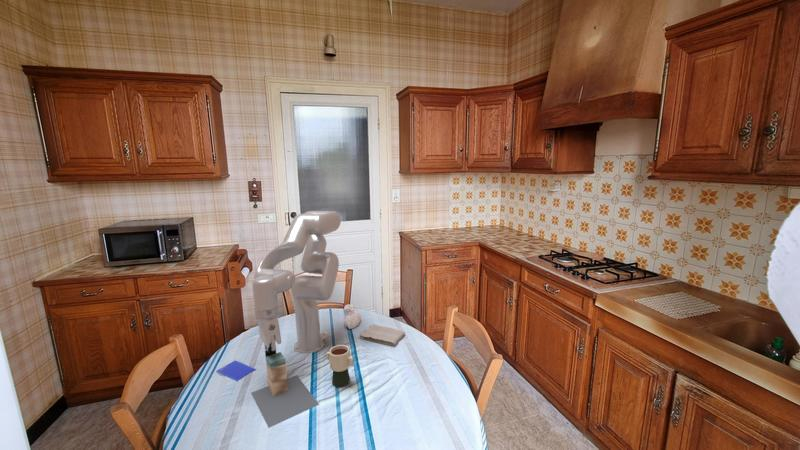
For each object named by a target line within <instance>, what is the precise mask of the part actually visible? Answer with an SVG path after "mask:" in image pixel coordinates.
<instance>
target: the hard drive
mask: <svg viewBox="0 0 800 450" xmlns="http://www.w3.org/2000/svg"><path fill="white" fill-rule="evenodd" d="M255 371H257V369H256V368H254V367H252V366H250V365H247V364H245V363H242V362H240V361H238V360H236V359H235V360H233V361H231V362H229V363H228V364H226V365H224V366H223V367H220V368H219V369H217V370H216V372H215V373H216V374H217V375H219V376H222V377H226V378H229V379H231V380H234V381H235V382H238V381H241V380H242V379H244V378H245V377H247V376H249V375H250V374H252V373H253V372H255Z"/></svg>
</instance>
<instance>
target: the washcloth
mask: <svg viewBox="0 0 800 450" xmlns="http://www.w3.org/2000/svg"><path fill="white" fill-rule="evenodd" d="M405 333H406V332H404V331H403V330H401V329H400V330H399V329H394V328H391V327H386V326H382V325H378V324H377V325H376V324H372V325H369V327H368V328H366V330H364V331H362V332H360V334H359V339H361V340H364V341H366V342H371V343H374V344H378V345H383V346H387V347H391V348H392V347H395V346H396V345H397V344H398V343H399V342H400V341H401V339H403V338H404V336H405Z"/></svg>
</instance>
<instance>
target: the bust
mask: <svg viewBox="0 0 800 450" xmlns="http://www.w3.org/2000/svg"><path fill="white" fill-rule="evenodd" d="M355 309H356V308H355V306H354V304H353V303H352V304H345V306H344V307H343V310H344V312H345V313H346V314H345V316H344V318H343V319H344V320H343V323H344V325H345V327H347V328H348V329H349V330H351V329H355V328H356V327H357V326H359V325H360V322H361V318H362V316H361V313H360V311H359V310H355Z"/></svg>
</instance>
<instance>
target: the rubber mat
mask: <svg viewBox="0 0 800 450" xmlns="http://www.w3.org/2000/svg"><path fill="white" fill-rule="evenodd" d="M287 384H288V390H287V391H284V392H282V393H279V394H277V395H275V396H273V395H272V393H271V391H270V390H269V385H267V386H265V387H263V388H260V389H257V390H255V391H252V392H250V393H251V396H252V398H253V400H254V402H255V403H256V406H257V408H258V409H259V411H260V414H261V415H262V417H263V419H264V420H263V421H264V422H265V423H266V425H267V427H268V429H269V428H271V427H274V426H276V425H279V424H281V423H283V422H284V421H287V420H289V419H292V418H293V417H295V416H297V415H299V414H301V413H304V412H306V411H308V410H311V409H313V408H315V407H317V406H320V403H319V402H318V401H317V399H316V398H315V397H314V395H313V394H312V393H311V391H309V389H308V388H307V386H306V385H305V384H304V383H303V381H302V380H301V378H300V377H299V376H298V375H297V374H295V375H293V376H290V377H287Z"/></svg>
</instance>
